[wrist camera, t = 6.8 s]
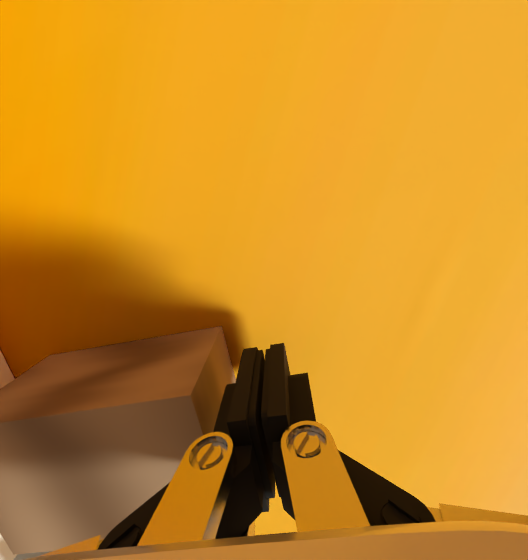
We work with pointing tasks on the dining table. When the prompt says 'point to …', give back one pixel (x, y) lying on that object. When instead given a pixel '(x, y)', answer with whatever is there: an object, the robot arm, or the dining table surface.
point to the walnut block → (102, 433)
